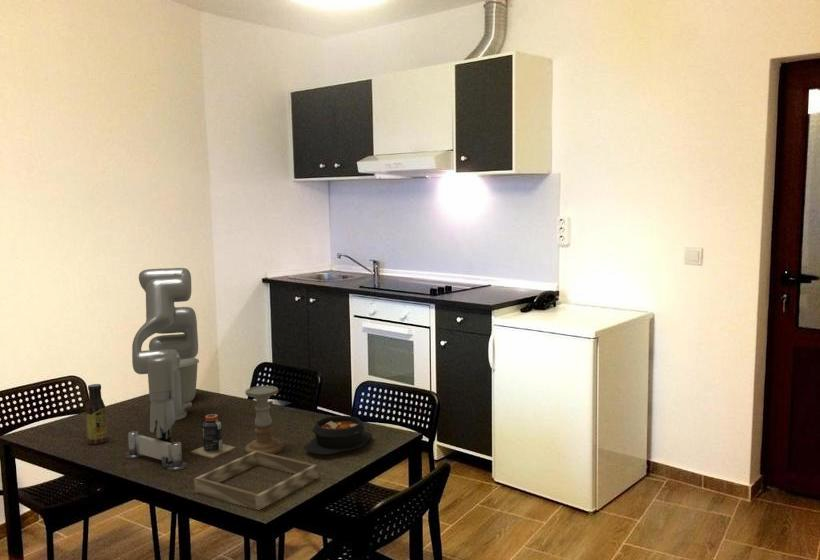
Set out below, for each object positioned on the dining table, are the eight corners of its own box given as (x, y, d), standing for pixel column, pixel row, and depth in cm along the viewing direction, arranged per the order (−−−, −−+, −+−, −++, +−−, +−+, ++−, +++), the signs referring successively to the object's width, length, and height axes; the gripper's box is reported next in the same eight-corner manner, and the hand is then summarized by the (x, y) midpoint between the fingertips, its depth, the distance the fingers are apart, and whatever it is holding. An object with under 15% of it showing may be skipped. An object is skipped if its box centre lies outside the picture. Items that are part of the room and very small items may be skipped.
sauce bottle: (99, 445, 230) (95, 388, 228) (83, 444, 232) (79, 387, 229) (111, 439, 237) (107, 383, 235) (95, 438, 238) (91, 382, 236)
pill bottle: (226, 447, 225) (224, 414, 223) (212, 453, 220) (210, 419, 218) (214, 444, 228) (212, 411, 227) (199, 450, 223) (198, 416, 222)
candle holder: (267, 440, 233) (264, 382, 230) (291, 448, 225) (288, 388, 223) (237, 451, 223) (234, 391, 221) (261, 459, 215) (258, 397, 213)
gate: (135, 452, 219) (134, 436, 218) (141, 450, 221) (140, 434, 220) (167, 462, 211) (166, 445, 210) (173, 460, 212) (172, 443, 212)
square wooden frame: (256, 462, 213) (255, 450, 212) (318, 478, 200) (317, 464, 200) (194, 492, 192) (194, 478, 192) (259, 511, 179) (258, 496, 179)
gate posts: (120, 456, 220) (118, 434, 219) (136, 450, 225) (134, 428, 224) (176, 472, 207) (174, 448, 206) (191, 465, 212) (190, 442, 211)
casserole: (332, 465, 210) (331, 438, 209) (291, 452, 222) (290, 427, 221) (385, 441, 230) (384, 417, 229) (345, 431, 241) (344, 407, 240)
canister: (146, 402, 280) (143, 352, 278) (187, 392, 293) (184, 344, 291) (168, 411, 268) (165, 358, 265) (209, 400, 281) (206, 350, 279)
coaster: (214, 443, 230) (214, 441, 230) (235, 448, 225) (235, 447, 225) (190, 453, 222) (190, 451, 222) (212, 458, 217) (212, 457, 217)
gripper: (158, 387, 222) (162, 440, 225) (140, 402, 208) (144, 459, 210) (181, 387, 222) (184, 440, 225) (165, 402, 208) (169, 459, 210)
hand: (165, 449), depth 218 cm, fingers closed
